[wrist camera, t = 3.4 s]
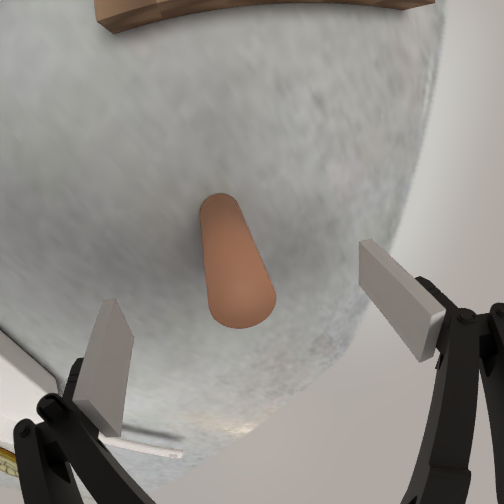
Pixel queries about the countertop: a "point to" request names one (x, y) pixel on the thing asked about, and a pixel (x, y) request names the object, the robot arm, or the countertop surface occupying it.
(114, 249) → the countertop surface
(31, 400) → the pan
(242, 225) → the peg
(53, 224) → the countertop surface
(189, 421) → the countertop surface
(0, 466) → the decorated donut
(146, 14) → the hole block
